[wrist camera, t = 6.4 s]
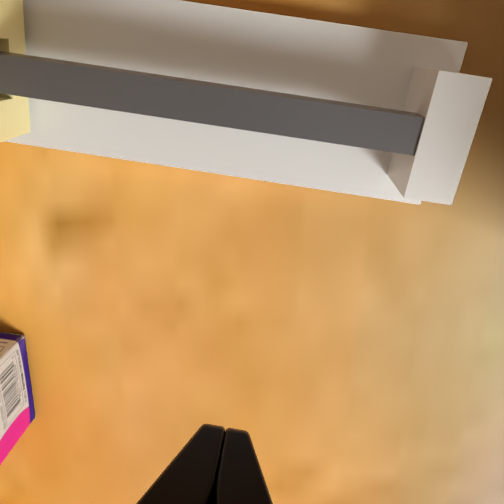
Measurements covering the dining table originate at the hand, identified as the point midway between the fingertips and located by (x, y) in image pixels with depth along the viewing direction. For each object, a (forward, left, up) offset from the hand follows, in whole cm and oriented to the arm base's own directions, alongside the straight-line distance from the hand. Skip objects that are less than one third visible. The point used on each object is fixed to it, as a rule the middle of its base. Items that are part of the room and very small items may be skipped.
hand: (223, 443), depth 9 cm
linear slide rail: (+5, -5, -13) cm, 15 cm away
